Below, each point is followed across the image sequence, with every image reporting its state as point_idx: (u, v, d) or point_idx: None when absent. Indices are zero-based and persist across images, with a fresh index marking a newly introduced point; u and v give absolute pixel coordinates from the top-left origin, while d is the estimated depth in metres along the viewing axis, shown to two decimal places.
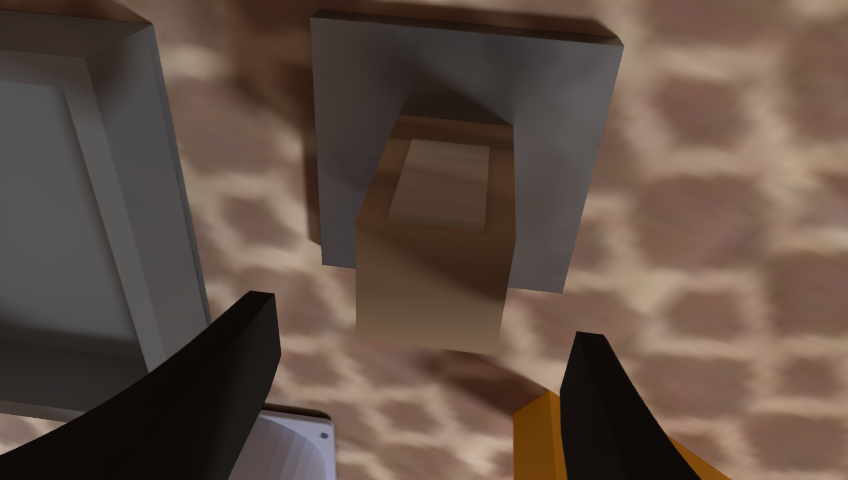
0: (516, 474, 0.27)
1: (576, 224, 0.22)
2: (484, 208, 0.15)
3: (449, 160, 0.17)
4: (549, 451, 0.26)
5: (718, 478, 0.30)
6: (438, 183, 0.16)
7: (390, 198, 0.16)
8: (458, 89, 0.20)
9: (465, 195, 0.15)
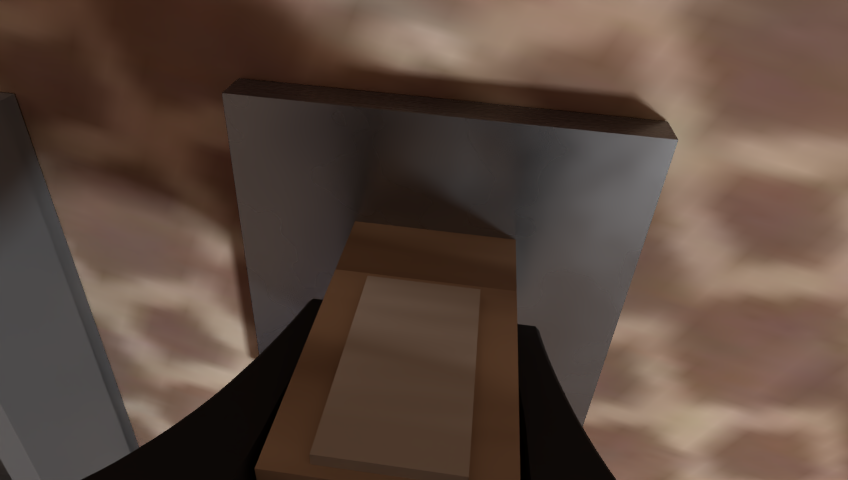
0: None
1: (600, 359, 0.16)
2: (469, 437, 0.09)
3: (419, 321, 0.11)
4: None
5: None
6: (398, 376, 0.10)
7: (320, 407, 0.10)
8: (437, 191, 0.14)
9: (439, 404, 0.10)
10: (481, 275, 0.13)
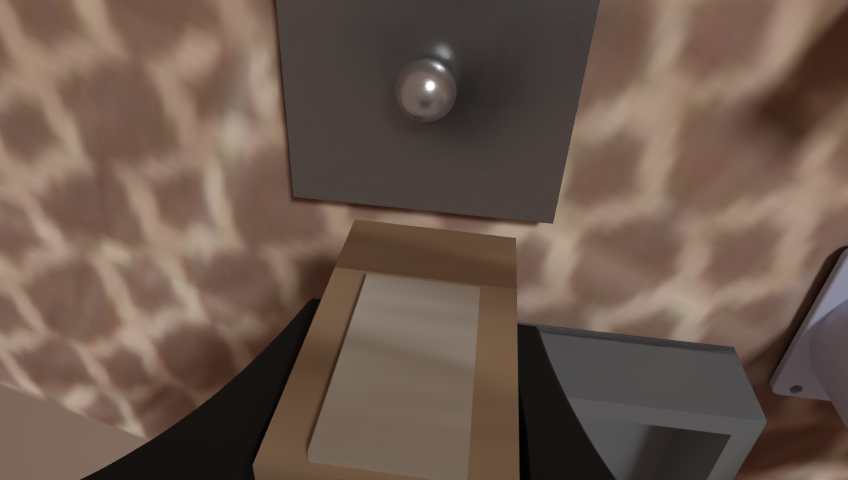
0: None
1: None
2: (468, 434, 0.09)
3: (418, 319, 0.11)
4: None
5: None
6: (397, 374, 0.10)
7: (319, 404, 0.10)
8: (337, 74, 0.20)
9: (438, 402, 0.10)
10: (481, 273, 0.13)
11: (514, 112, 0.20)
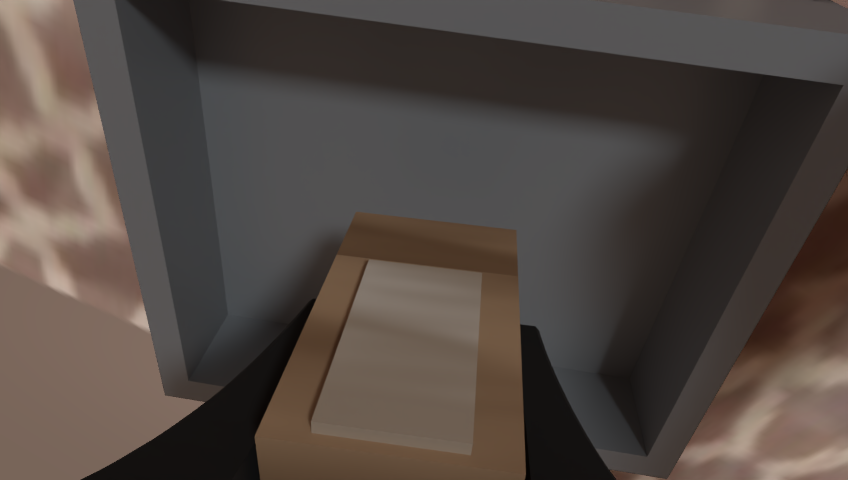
0: None
1: None
2: (472, 407, 0.09)
3: (420, 300, 0.11)
4: None
5: None
6: (400, 350, 0.10)
7: (321, 380, 0.10)
8: None
9: (442, 377, 0.10)
10: (482, 261, 0.13)
11: None
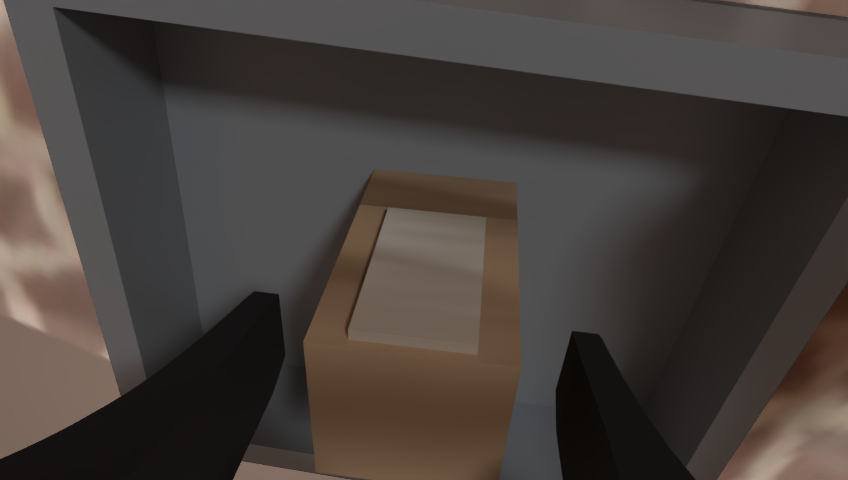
0: None
1: None
2: (478, 318, 0.11)
3: (434, 240, 0.13)
4: None
5: None
6: (418, 278, 0.12)
7: (353, 301, 0.12)
8: None
9: (453, 297, 0.12)
10: (486, 209, 0.15)
11: None
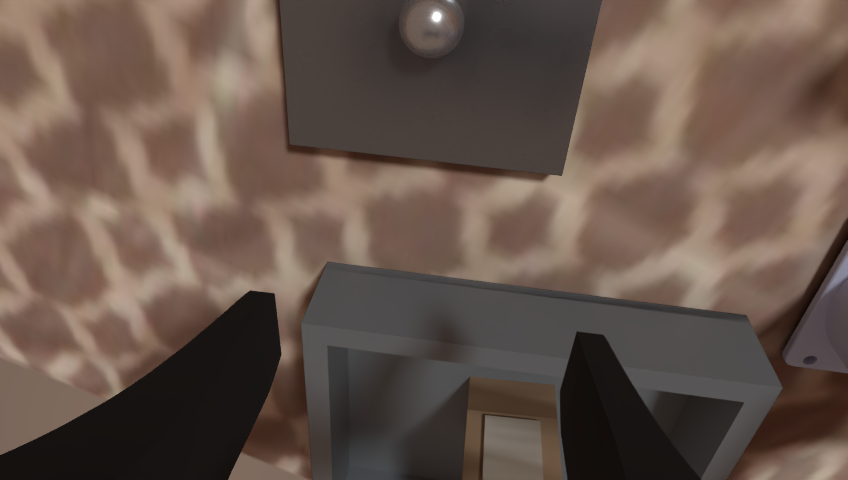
0: None
1: None
2: None
3: (514, 441, 0.25)
4: None
5: None
6: (509, 471, 0.23)
7: None
8: (337, 7, 0.19)
9: None
10: (539, 410, 0.26)
11: (524, 51, 0.19)
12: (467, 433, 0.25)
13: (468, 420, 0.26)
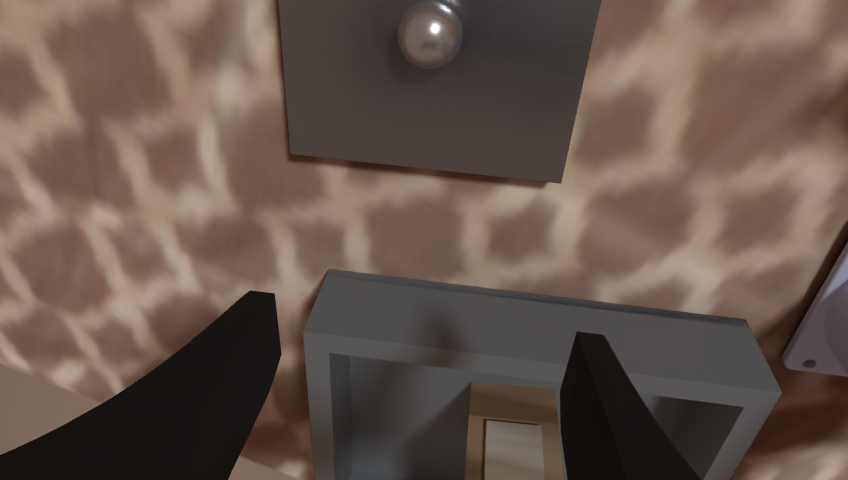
0: None
1: None
2: None
3: (515, 446, 0.25)
4: None
5: None
6: (511, 476, 0.24)
7: None
8: (337, 19, 0.19)
9: None
10: (540, 414, 0.26)
11: (522, 61, 0.19)
12: (469, 438, 0.25)
13: (470, 425, 0.26)
